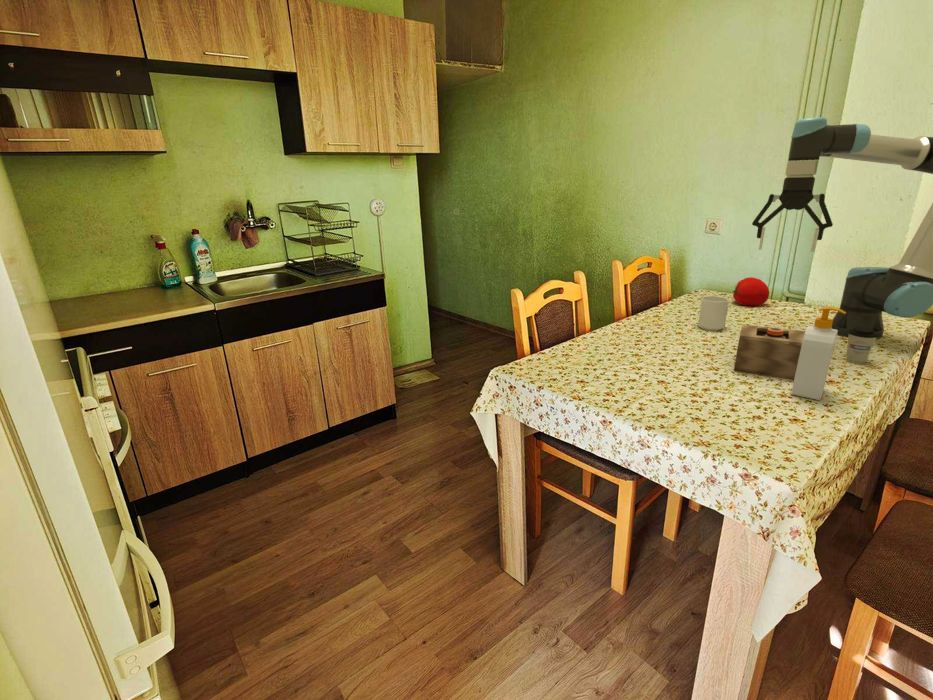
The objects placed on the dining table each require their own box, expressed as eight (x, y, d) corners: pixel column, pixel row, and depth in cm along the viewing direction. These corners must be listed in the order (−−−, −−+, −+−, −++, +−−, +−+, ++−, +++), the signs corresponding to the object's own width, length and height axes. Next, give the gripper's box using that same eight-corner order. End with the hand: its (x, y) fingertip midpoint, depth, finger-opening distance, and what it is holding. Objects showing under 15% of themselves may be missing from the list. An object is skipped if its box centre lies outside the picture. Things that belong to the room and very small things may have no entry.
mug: (720, 332, 174) (725, 303, 170) (694, 328, 180) (698, 299, 176) (729, 324, 183) (734, 296, 179) (704, 321, 188) (708, 293, 184)
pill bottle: (780, 363, 143) (787, 327, 139) (782, 370, 138) (789, 332, 135) (757, 360, 146) (763, 325, 142) (757, 367, 141) (764, 330, 137)
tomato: (762, 310, 210) (729, 310, 213) (760, 283, 213) (727, 283, 216) (774, 300, 198) (739, 300, 201) (772, 271, 201) (737, 272, 204)
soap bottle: (823, 402, 121) (845, 314, 113) (790, 395, 125) (809, 309, 118) (827, 390, 128) (847, 306, 120) (795, 383, 132) (814, 302, 124)
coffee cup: (843, 355, 150) (851, 324, 147) (872, 360, 146) (880, 328, 142) (839, 361, 146) (846, 329, 142) (868, 367, 141) (877, 334, 138)
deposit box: (797, 365, 143) (805, 331, 140) (798, 380, 134) (807, 343, 130) (736, 357, 151) (742, 324, 148) (733, 370, 142) (739, 335, 138)
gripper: (851, 175, 137) (834, 250, 145) (751, 177, 150) (740, 246, 157) (855, 175, 131) (837, 254, 139) (750, 177, 144) (738, 249, 151)
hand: (785, 250), depth 148 cm, fingers open, 13 cm apart
